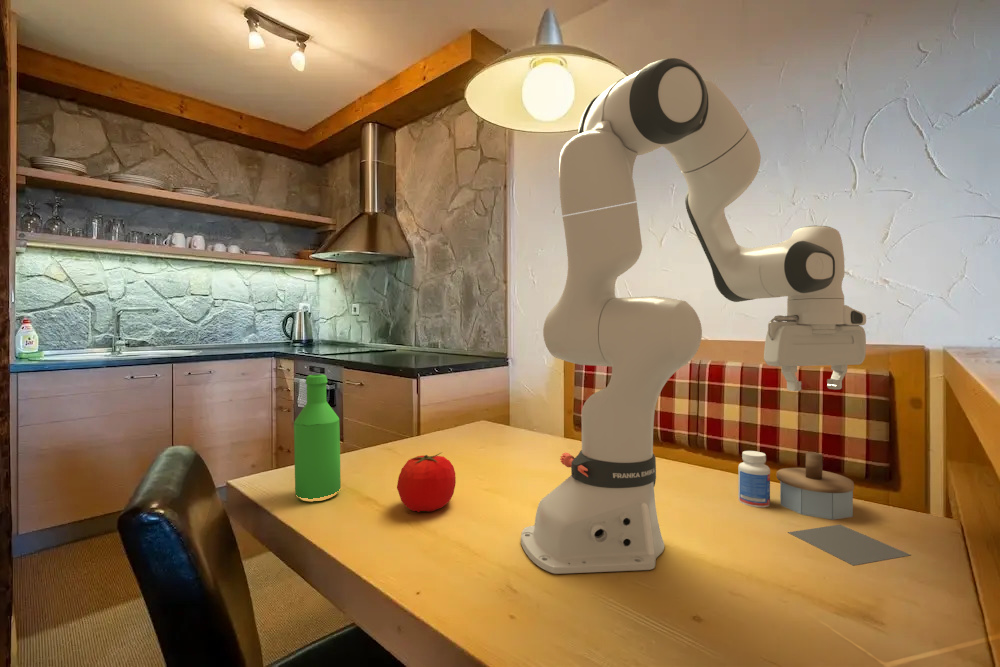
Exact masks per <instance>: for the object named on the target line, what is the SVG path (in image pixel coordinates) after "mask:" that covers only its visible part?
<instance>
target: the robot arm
mask: <svg viewBox="0 0 1000 667" xmlns="http://www.w3.org/2000/svg"><path fill="white" fill-rule="evenodd" d="M577 131H578V132H577V135H574V136H573V137H572V138H570V139H569V140H568V141H567V142H566V143H565V144H564V145H563V147H562V149H561V151H560V155H559V166H558V167H559V168H558V172H559V173H558V182H559V199H560V208H561V214H562V215H561V216H562V224H563V229H564V238H565V245H566V246H565V247H566V253H567V254H566V256H567V275H566V280H565V285H564V289H563V291H562V293H561V296H560V298H559V300H558V301H557V303H556V304H555V305H554V306H553V307H552V308H551V309H550V310H549V312H548V313H547V315H546V318H545V320H544V324H543V328H542V329H543V332H542V333H543V341H544V344H545V346H546V349H547V350H548V352H549V353H550V354H551V356H552V357H554V358H555V359H559V360H560V361H564V362H568V363H572V364H576V365H580V366H581V365H582V366H594V367H595V366H596V367H597V366H598V367H599V366H600V367H611V377H610V379H609V383H608V384H607V386H606V387H604V388H602V389H600V390H598V391H597V392H595V393H593V394H591V395H590V396H589V397H588V398H587V399H586V401H584V403H583V405H582V407H581V408H582V409H581V450H580V451H579V452H578V454H577V455H576V456H574V455H572V454H570V453H569V452H563V453H562V454H561V455H560V458H559V460H560V463H561V464H562V465H564V466H565V467H566V468H570V469H571V475H570V476H568V477H567V478H566V479H565V480H563V481H562V482H561V483H560V484H559V485H557V486H556V487H555V488H554V489H552V490H551V491H550V492H549V493H547V494H546V495H545V496H544V497H543V498H541V500H540V501H539V502H538V506H537V508H536V511H535V518H534V525H528V526H526V527H524V528H523V529H522V531H521V534H520V544H521V546H522V548H523V551H524V552H525V554H526V556H528V558H529V560H531V561H532V563H534V564H535V565H537V566H538V567H539V568H541V569H542V570H545V571H546V572H549V573H551V574H555V575H557V574H558V575H559V574H579V573H580V574H581V573H583V574H584V573H604V572H627V571H628V572H629V571H649V570H653V569H655V567H656V563H657V561H656V559H657V558H658V557H659V556H660V555H661V554H662V553H663V551H664V549H665V542H664V540H663V536H662V532H661V528H660V524H659V518H658V514H657V506H656V496H655V495H656V494H655V487H656V486H655V485H656V480H657V463H656V462H657V461H656V455H655V454H654V451H653V450H654V422H655V411H656V406H657V402H658V399H659V397H660V394H661V392H662V390H663V388H664V387H665V385H666V383H667V382H669V380H670V378H671V377H672V376H673V375H674V374H675V373H676V372H677V371H678V370H681V368H682V367H684V366H686V365H687V364H688V363H690V361H691V360H692V359H693V358H694V357H695V355H696V354H697V352H698V350H699V348H700V346H701V343H702V338H703V329H702V324H701V321H700V317H699V315H698V314H697V312H696V310H695V308H694V307H692V306H691V304H689V302H687V301H685V300H682V299H676V298H670V297H665V296H663V297H662V296H657V295H656V296H655V295H653V296H652V295H651V296H634V297H633V296H632V297H616V291H615V290H616V282H617V279H618V278H619V277H620V276H622V275H623V274H624V273H626V272H627V271H628V270H630V269H631V268H632V267H633V266H635V264H637V262H638V260H639V259H640V256H641V253H642V250H643V244H642V243H643V242H642V235H641V227H640V219H639V211H638V210H639V209H638V203H637V195H636V188H635V184H634V179H633V178H634V177H633V172H634V165H635V162H636V158H637V156H642V155H645V154H649V153H651V152H653V151H655V150H657V149H660V148H664V149H666V150H667V151H668V152H669V153H670V155H671V157H672V159H673V160H674V163H675V164H676V165H677V167H678V169H679V171H680V172H681V174H682V175H683V177H684V179H685V181H686V184H687V189H688V190H687V192H686V194H685V198H684V199H685V209H686V212H687V215H688V218H689V221H690V222H691V226H692V227H693V230H694V233H695V234H696V236H697V239H698V241H699V244H700V245H701V247H702V250H703V252H704V254H705V256H706V259H707V261H708V263H709V265H710V268H711V272H712V276H713V281H714V285H715V286H716V289H717V290H718V292H719V293H720V294H721V295H722V296H723V297H725V298H726V299H727V300H729V301H731V302H734V303H738V302H745V301H751V300H752V301H753V300H758V299H759V300H760V299H773V298H781V297H787V298H786V299H787V301H786V303H787V304H786V306H787V308H786V309H787V310H786V311H787V312H786V314H787V315H779V314H777V315H775V316H774V317H773V318H772V319H771V320H770V321H769V322H768V324H767V331H766V334H765V335H766V336H765V341H764V350H763V360H764V362H765V363H766V365H767V366H768V367H769V366H772V367H780V368H781V373H782V375H783V377H784V379H785V381H786V390H787V391H792V392H798V391H801V390H802V381H801V380H800V381H799V380H798V378H797V376H796V373H798V367H811V366H812V367H813V366H815V367H816V366H817V367H819V366H830V368H831V371H832V374H831V377H830V378H827V379H826V383H827V385H826V387H827V389H829V390H841V389H843V380H844V378H845V377H846V374H847V373H848V366H850V365H851V366H852V365H853V366H855V365H862V363H863V362H864V361H865V359H866V353H867V338H866V337H867V335H866V331H865V328H864V327H863V326H865V325H866V323H867V315H866V314H865V313H864V312H862V311H859V310H856V309H854V308H853V307H851V306H848V305H847V304H845V295H844V291H843V287H842V286H843V280H844V278H845V254H844V253H845V252H844V245H843V239H842V237H841V236H842V235H841V234H840V231H839V230H838V229H836V228H834V227H831V226H828V225H809V226H803V227H800V228H797V229H795V230H793V232H792V234H791V237H789V238H788V239H786V240H783V241H781V242H778V243H773V244H770V245H763V246H757V247H744V246H742V245H739V244H738V243H737V241H736V239H735V236H734V233H733V231H732V229H731V226H730V224H729V222H728V219H727V217H726V214H725V208H727V207H728V206H729V205H732V203H734V202H735V201H736V200H737V199H738V198H739V197H740V196H742V195H743V194H744V192H745V191H746V190H748V188H749V187H750V186H751V185H752V182H753V181H755V178H756V177H757V174H758V172H759V169H760V164H761V152H760V149H759V146H758V143H757V140H756V139H755V137H754V135H753V133H752V132H751V130H750V128H749V126H748V124H747V123H746V121H745V119H744V118H743V116H742V115H741V113H740V112H739V110H738V109H737V108H736V107H735V104H733V103H732V101H731V100H730V99H729V97H728V96H727V95H726V94H725V93H724V92H723V91H722V89H721V88H720V87H719V86H718V85H717V84H716V83H715V82H714V81H712V80H710V79H706V78H703V77H702V75H701V74H700V73H699V71H698V70H697V69H696V68H695V67H694V66H693V65H692V64H690V63H688V62H687V61H685V60H683V59H681V58H675V57H673V58H672V57H670V58H664V59H659V60H656V61H653V62H651V63H649V64H647V65H645V66H644V67H643V68H642V69H640V70H639V71H638V70H637V71H635V72H633V73H632V74H630V75H628V76H625V77H622V78H621V79H619V80H618V81H615V82H614V83H613V84H611V85H610V86H609V87H608V88H607V89H606V90H604V91H603V92H602V93H600V94H598V95H597V96H596V97H594V98H593V99H592V100H591V101H590V102H589V103H588V105H587V106H586V108H585V109H584V111H583V113H582V115H581V117H580V121H579V124H578V130H577Z"/></svg>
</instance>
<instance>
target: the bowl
mask: <svg viewBox="0 0 1000 667" xmlns="http://www.w3.org/2000/svg"><path fill="white" fill-rule="evenodd" d="M779 481H780V480H779ZM779 487H780V488H779V489H780V491H779V494H780V495H779V498H780V502H779V503H780V505H779V506H781V507H783V508H786V509H789V510H790V511H793V512H795V513H797V514H799V515H803V516H807V517H813V518H821V519H827V520H831V521H832V520H840V519H846V518H847V519H848V518H852V517H853V516H854V513H853V512H854V503H853V502H854V494H853V493H854V490H852V491H850V492H846V493H823V492H815V491H809V490H804V489H800V488H796V487H793V486H790V485H787V484H785V483H783V482H781V481H780V482H779Z"/></svg>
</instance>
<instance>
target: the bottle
mask: <svg viewBox="0 0 1000 667" xmlns="http://www.w3.org/2000/svg"><path fill="white" fill-rule="evenodd" d="M327 384H328V377H327V375H326V374H318V373H317V374H309V375H307V376H306V378H305V385H306V403H305V405H304V406H303V408H302V409H301V411H300V412H299V414H298V416H297V417H296V418H295V419H294V422H293V437H294V438H293V440H294V441H293V442H294V444H293V445H294V447H293V448H294V492H295V493H294V494H295V495H297V496H298V497H301V498H308V499H313V498H320V497H324V496H328V495H331V494H334V493H335V492H337V491H339V489H340V488H341V486H342V485H341V482H342V480H341V437H340V436H341V434H340V433H341V432H340V430H341V429H340V417H339V415H337V413H336V411H334V409H333V408H332V407H331V406H330V404H329V403H328V401H327Z"/></svg>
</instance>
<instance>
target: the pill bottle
mask: <svg viewBox="0 0 1000 667" xmlns="http://www.w3.org/2000/svg"><path fill="white" fill-rule="evenodd" d="M741 456H742V457H741V458H742V461H743V462H740V463H739V464H738V468H737V469H738V474H737V475H738V477H737V478H738V479H737V480H738V481H737V482H738V484H737V485H738V487H737V488H738V489H737V490H738V491H737V493H738V494H737V495H738V496H737V497H738V502H740V503H741V504H742V505H745V506H748V507H751V508H767V507H769V506H770V505H771V468H770V467H769V466H768V465H767V464H766V462H767V455H766V453H765V452H762V451H761V452H760V451H756V450H744V451H742V454H741Z"/></svg>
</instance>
